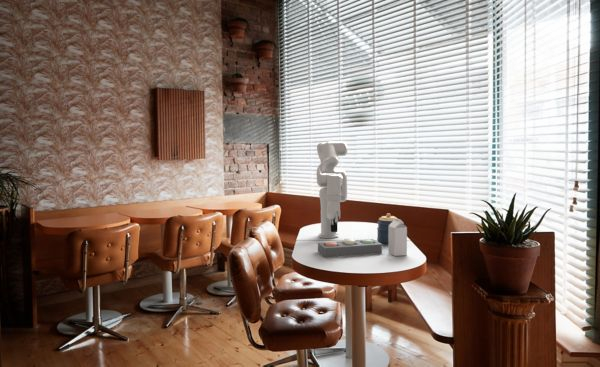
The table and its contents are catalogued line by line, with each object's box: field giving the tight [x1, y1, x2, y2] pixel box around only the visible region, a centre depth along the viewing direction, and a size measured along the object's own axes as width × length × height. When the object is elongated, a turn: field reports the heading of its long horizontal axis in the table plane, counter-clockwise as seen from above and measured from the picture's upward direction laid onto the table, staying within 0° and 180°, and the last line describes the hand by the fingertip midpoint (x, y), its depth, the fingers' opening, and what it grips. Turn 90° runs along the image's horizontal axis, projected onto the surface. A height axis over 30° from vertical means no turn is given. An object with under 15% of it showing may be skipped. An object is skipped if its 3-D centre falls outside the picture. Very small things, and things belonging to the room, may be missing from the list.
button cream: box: [343, 238, 356, 245], centre depth 228 cm, size 6×6×3 cm
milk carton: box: [387, 217, 408, 257], centre depth 223 cm, size 7×7×19 cm
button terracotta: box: [325, 241, 337, 247], centre depth 226 cm, size 6×6×3 cm
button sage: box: [361, 238, 374, 244], centre depth 230 cm, size 6×6×3 cm
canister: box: [376, 212, 397, 246], centre depth 249 cm, size 13×13×18 cm
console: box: [317, 238, 383, 259], centre depth 228 cm, size 13×32×5 cm, turn 103°
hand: (334, 231), depth 225 cm, fingers closed
